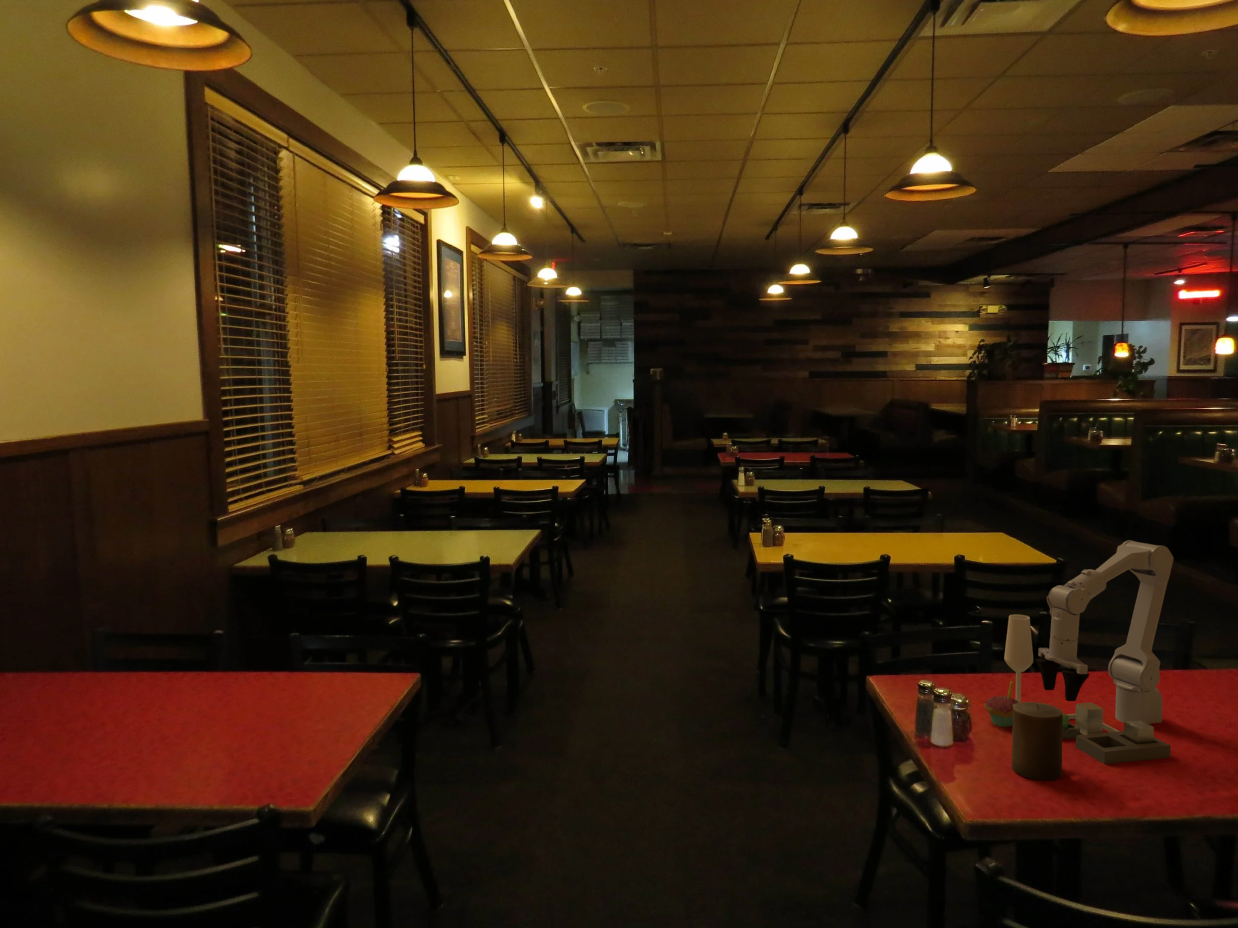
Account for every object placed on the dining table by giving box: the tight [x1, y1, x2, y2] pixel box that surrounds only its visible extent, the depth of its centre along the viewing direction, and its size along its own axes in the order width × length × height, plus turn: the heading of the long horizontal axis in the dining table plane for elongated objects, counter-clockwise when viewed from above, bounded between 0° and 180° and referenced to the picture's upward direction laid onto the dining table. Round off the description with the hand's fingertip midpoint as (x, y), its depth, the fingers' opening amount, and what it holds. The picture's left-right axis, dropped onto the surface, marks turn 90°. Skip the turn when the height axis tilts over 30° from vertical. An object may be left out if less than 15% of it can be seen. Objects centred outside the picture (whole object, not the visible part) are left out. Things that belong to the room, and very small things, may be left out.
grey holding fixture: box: [1075, 730, 1171, 765], centre depth 189 cm, size 16×9×4 cm, turn 99°
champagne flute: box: [1003, 614, 1034, 703], centre depth 217 cm, size 7×7×24 cm
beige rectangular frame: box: [1065, 713, 1119, 735], centre depth 202 cm, size 9×14×2 cm, turn 9°
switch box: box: [1062, 722, 1081, 740], centre depth 200 cm, size 6×6×3 cm
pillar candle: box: [1011, 701, 1064, 782], centre depth 182 cm, size 10×10×15 cm
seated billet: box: [1123, 720, 1155, 745], centre depth 190 cm, size 4×4×6 cm
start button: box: [1062, 713, 1070, 729], centre depth 200 cm, size 4×4×4 cm
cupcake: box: [983, 678, 1019, 728], centre depth 207 cm, size 9×8×12 cm
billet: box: [1075, 702, 1104, 734], centre depth 202 cm, size 4×4×6 cm
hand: (1059, 695), depth 200 cm, fingers open, 7 cm apart
